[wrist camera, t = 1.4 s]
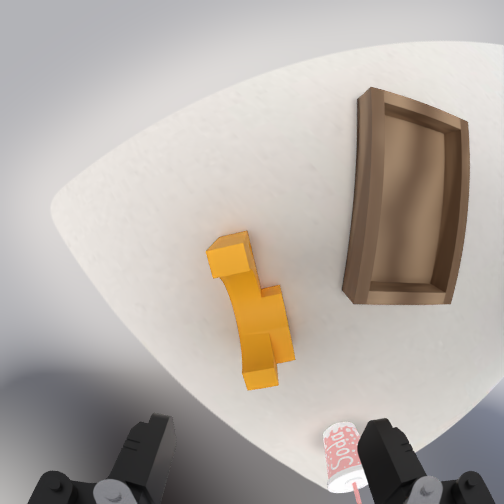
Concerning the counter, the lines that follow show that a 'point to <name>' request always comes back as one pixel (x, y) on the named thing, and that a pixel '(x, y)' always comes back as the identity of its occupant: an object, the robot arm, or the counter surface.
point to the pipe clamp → (252, 310)
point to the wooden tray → (407, 202)
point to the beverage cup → (343, 459)
